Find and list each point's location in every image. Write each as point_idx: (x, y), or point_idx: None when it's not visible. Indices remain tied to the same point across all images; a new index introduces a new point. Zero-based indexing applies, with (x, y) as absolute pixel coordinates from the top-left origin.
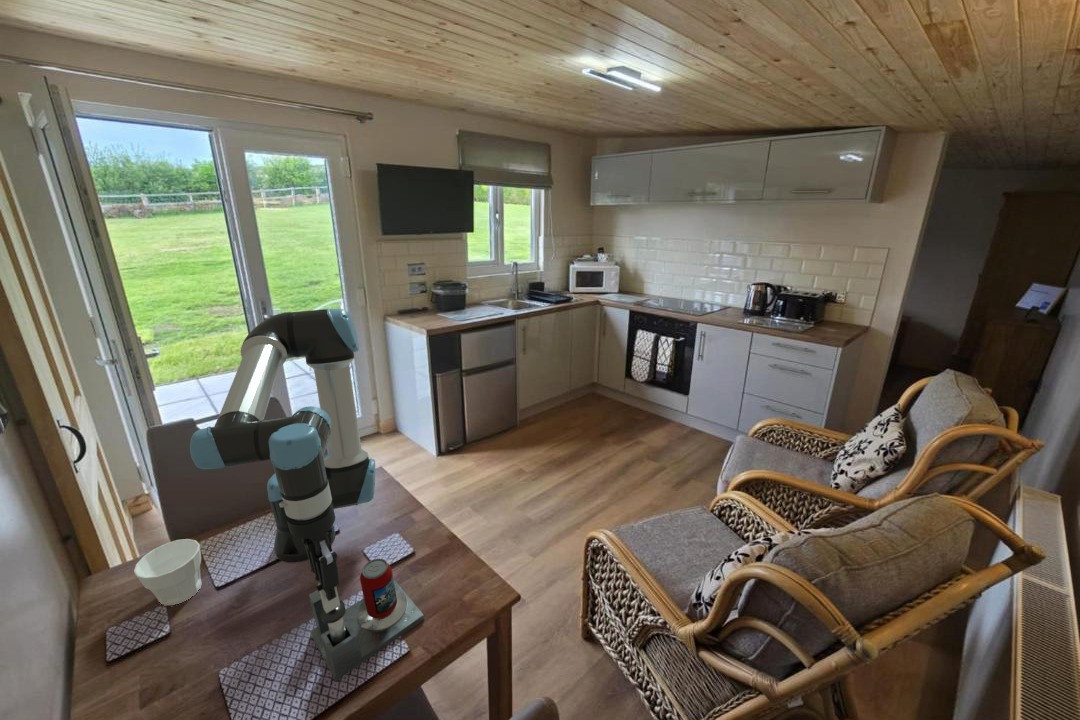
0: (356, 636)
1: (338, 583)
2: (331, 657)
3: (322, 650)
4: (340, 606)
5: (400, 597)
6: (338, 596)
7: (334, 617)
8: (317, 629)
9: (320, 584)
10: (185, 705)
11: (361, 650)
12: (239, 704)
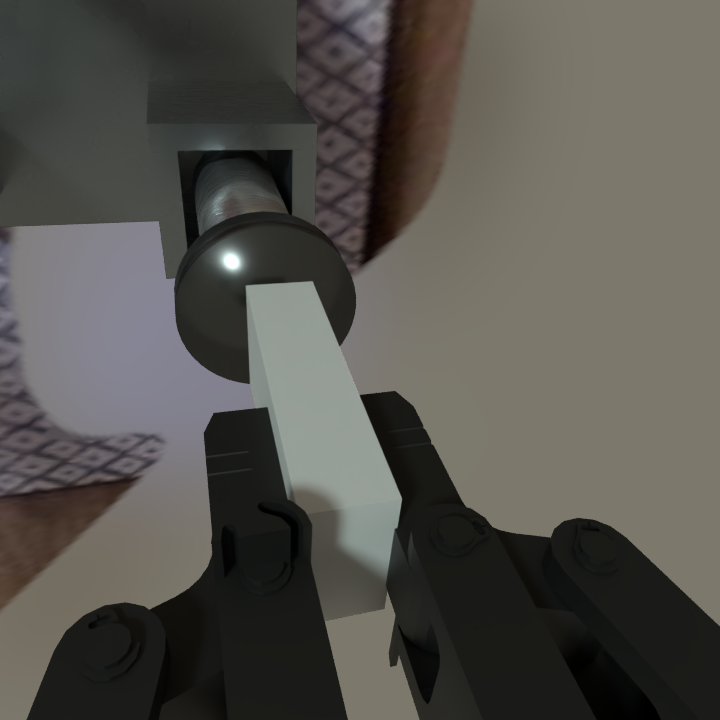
0: (316, 124)
1: (636, 555)
2: None
3: (119, 214)
4: (281, 261)
5: None
6: (334, 335)
7: (346, 320)
8: None
9: (400, 644)
10: (34, 559)
11: (254, 64)
12: (138, 456)
